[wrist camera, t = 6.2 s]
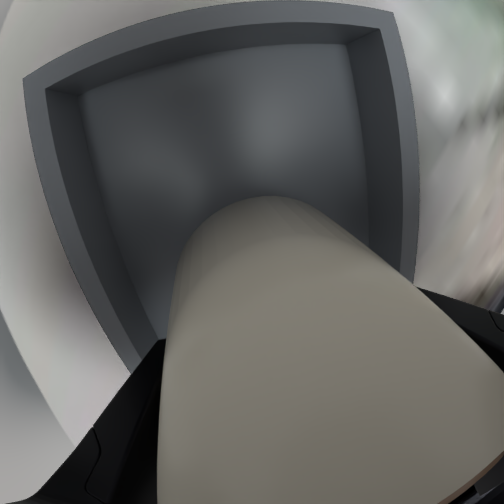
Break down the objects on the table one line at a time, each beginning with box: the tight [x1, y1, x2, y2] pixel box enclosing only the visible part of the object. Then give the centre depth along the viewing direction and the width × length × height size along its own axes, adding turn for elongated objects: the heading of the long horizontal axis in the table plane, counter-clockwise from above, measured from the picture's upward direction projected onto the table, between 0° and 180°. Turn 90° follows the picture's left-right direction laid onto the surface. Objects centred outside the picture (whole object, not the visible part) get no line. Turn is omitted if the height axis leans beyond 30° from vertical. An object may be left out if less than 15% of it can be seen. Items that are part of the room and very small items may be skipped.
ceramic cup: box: [157, 196, 504, 504], centre depth 6 cm, size 6×6×8 cm
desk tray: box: [23, 0, 420, 374], centre depth 10 cm, size 18×12×3 cm, turn 11°
